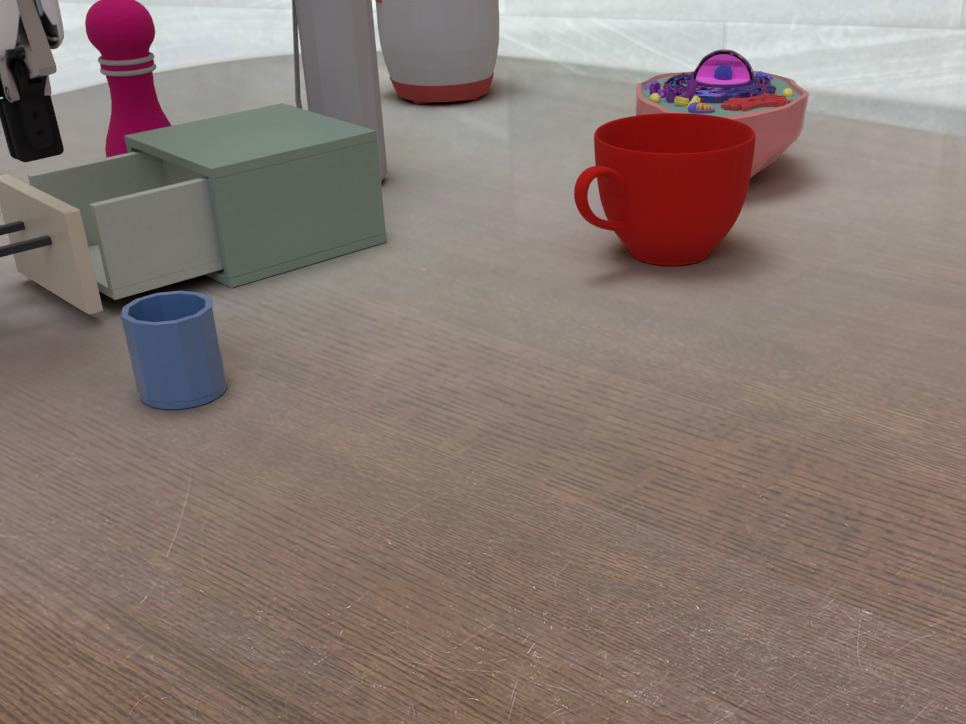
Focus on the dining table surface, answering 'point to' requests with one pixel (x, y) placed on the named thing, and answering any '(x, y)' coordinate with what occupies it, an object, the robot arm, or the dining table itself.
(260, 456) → the dining table surface
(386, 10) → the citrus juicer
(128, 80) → the pepper mill
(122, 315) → the cup
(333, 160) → the green storage cabinet
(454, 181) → the dining table surface
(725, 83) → the cell model
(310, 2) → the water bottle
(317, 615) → the dining table surface
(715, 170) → the ceramic cup
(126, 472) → the dining table surface
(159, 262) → the drawer
